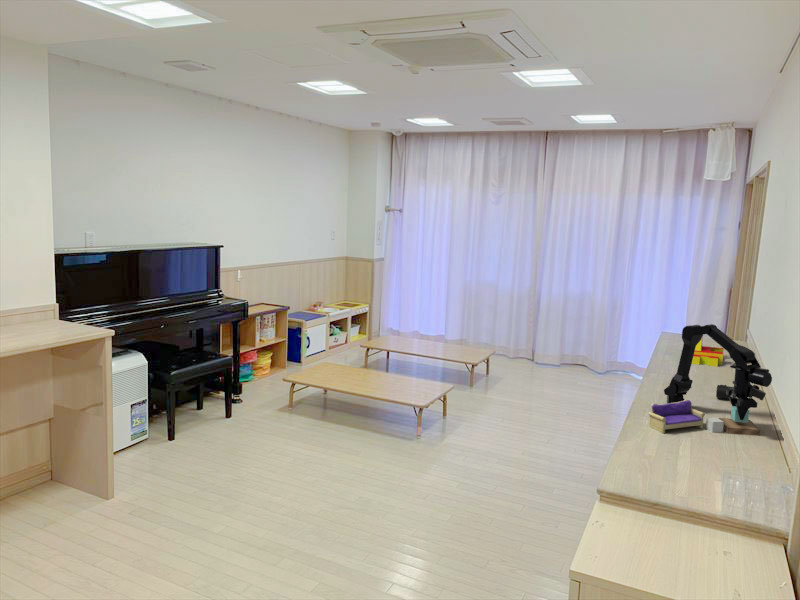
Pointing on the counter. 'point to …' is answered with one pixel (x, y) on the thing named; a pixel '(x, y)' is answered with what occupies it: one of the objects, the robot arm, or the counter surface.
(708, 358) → the building blocks toy
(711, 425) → the grey cube
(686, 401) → the toy sofa
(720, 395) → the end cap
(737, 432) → the base block
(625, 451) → the counter surface
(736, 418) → the teal block
